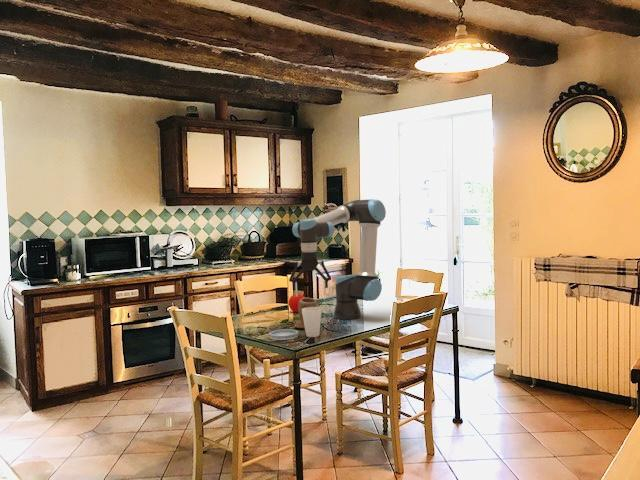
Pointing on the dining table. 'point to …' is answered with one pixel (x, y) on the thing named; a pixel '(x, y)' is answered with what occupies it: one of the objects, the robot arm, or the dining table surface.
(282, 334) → the saucer
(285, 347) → the dining table surface
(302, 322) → the stone cup
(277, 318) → the dining table surface
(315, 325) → the foam cup
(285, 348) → the dining table surface
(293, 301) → the tomato
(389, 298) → the dining table surface
